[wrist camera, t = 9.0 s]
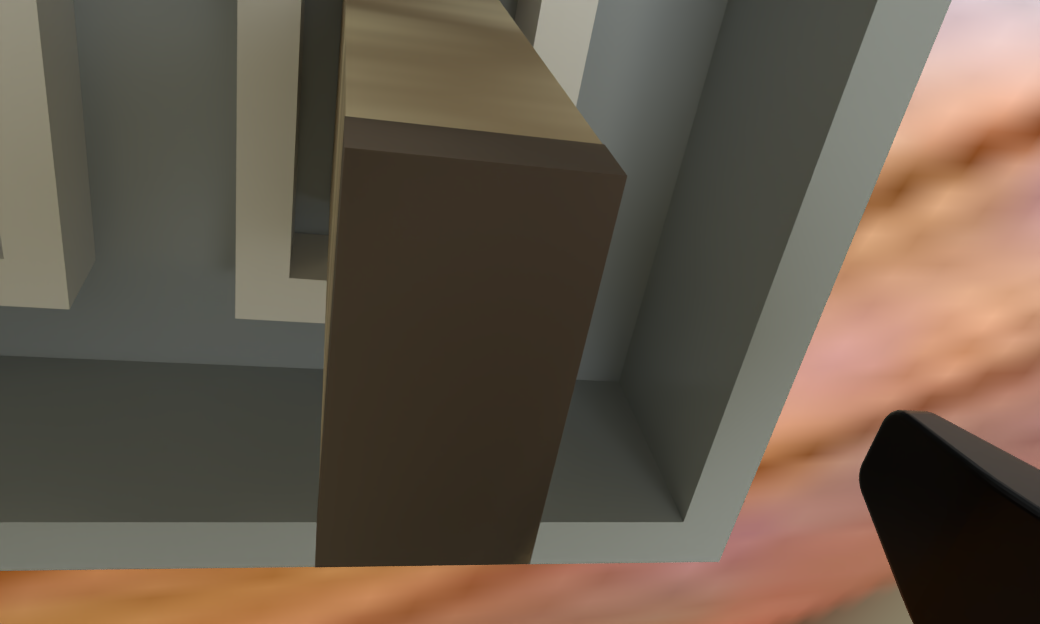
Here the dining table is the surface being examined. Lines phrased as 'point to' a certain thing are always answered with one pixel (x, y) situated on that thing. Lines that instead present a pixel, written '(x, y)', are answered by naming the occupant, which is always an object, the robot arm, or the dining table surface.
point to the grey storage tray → (304, 256)
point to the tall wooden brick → (452, 285)
